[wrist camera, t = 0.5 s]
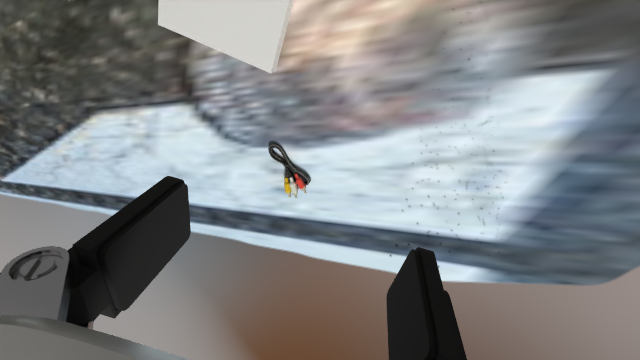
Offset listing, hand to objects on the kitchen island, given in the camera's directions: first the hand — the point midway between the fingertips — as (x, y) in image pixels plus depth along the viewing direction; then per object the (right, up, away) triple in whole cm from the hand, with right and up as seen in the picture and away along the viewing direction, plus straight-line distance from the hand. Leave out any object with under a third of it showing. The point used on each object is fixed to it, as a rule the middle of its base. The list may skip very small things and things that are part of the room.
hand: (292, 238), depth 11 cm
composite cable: (-4, +5, +34) cm, 35 cm away
